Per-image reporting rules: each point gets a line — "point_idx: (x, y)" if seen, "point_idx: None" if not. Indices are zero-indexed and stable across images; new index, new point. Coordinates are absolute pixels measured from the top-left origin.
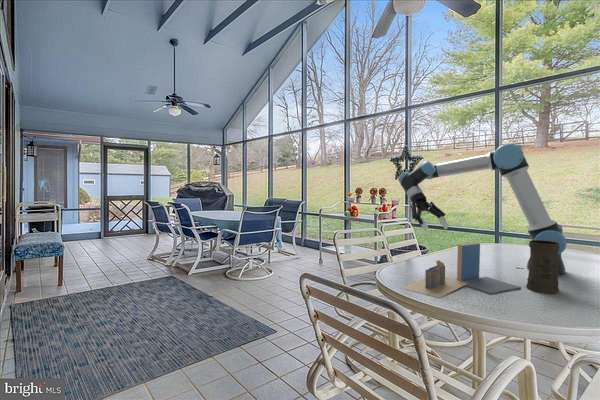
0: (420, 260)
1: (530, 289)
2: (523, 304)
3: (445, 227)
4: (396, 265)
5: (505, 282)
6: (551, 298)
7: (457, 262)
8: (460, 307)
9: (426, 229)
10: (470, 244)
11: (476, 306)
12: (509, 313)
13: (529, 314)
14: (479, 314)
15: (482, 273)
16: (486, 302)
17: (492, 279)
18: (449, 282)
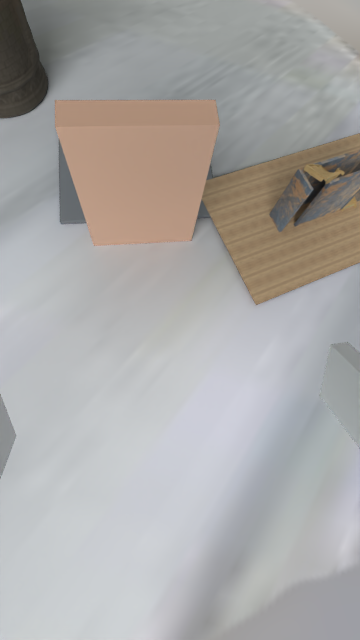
0: (111, 621)
1: (46, 91)
2: (178, 42)
3: (4, 431)
4: (317, 535)
5: (59, 151)
6: (64, 40)
7: (201, 197)
8: (342, 78)
9: (324, 378)
10: (142, 100)
11: (300, 70)
12: (258, 25)
13: (220, 9)
14: (326, 43)
15: (12, 277)
16: (257, 78)
17: (70, 189)
18: (249, 214)
